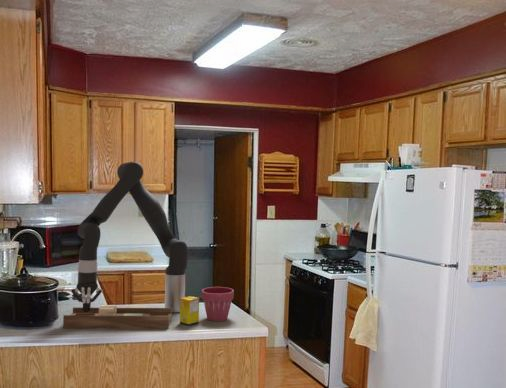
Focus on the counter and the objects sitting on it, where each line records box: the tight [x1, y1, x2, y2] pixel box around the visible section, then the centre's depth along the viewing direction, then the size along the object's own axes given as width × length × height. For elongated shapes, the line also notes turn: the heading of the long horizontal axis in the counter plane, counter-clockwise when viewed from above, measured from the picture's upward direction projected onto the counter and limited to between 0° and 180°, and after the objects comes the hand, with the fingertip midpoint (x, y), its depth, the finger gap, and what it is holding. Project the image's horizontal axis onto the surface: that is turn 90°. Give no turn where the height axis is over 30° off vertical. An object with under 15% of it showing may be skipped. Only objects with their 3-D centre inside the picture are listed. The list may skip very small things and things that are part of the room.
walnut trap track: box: [62, 306, 173, 330], centre depth 205 cm, size 14×42×5 cm, turn 94°
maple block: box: [98, 304, 118, 315], centre depth 205 cm, size 6×6×4 cm
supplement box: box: [179, 295, 200, 327], centre depth 209 cm, size 6×6×11 cm
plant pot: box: [201, 286, 235, 322], centre depth 218 cm, size 14×14×13 cm
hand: (86, 311), depth 204 cm, fingers closed
